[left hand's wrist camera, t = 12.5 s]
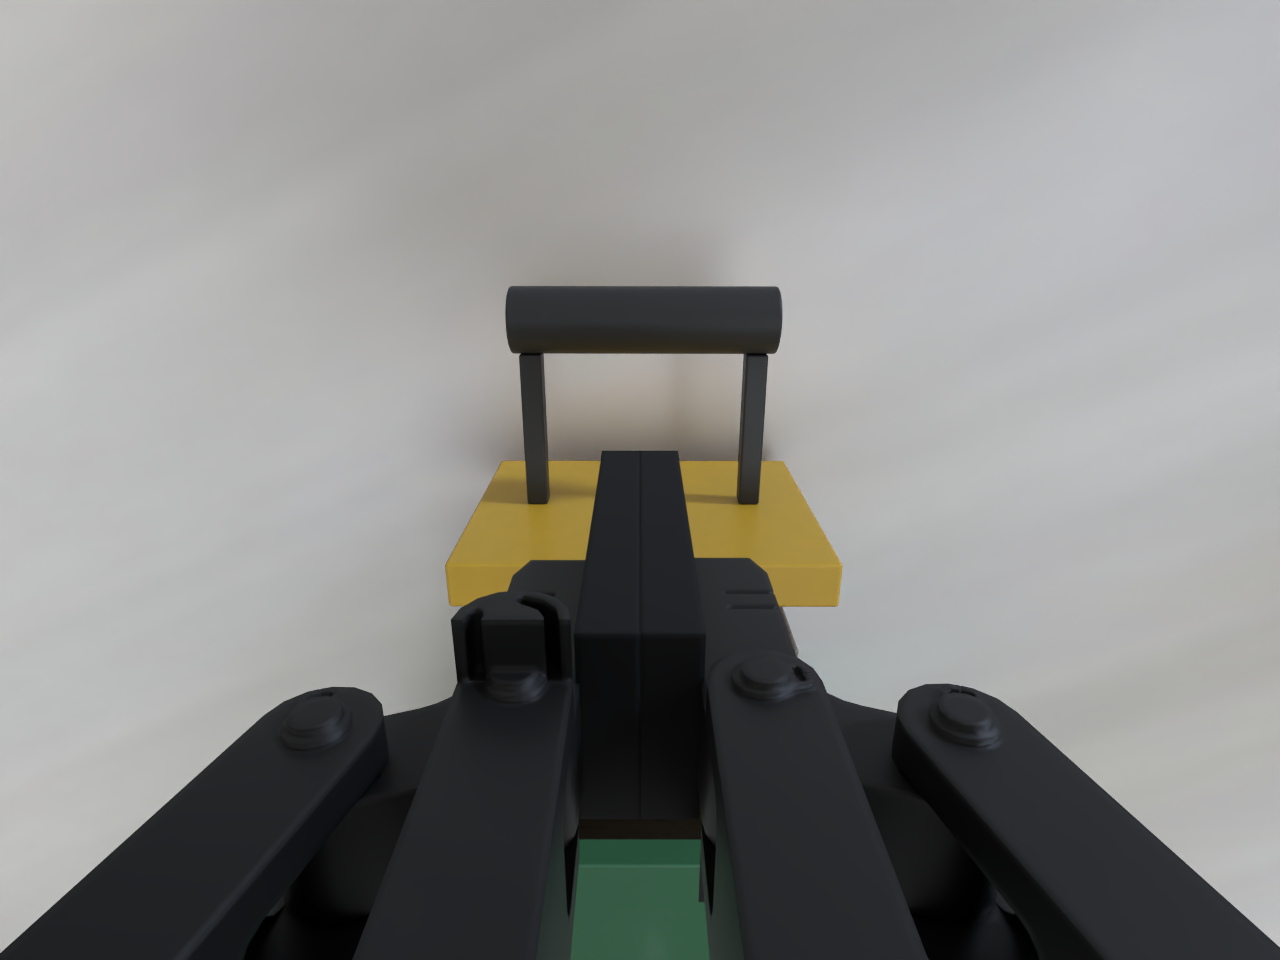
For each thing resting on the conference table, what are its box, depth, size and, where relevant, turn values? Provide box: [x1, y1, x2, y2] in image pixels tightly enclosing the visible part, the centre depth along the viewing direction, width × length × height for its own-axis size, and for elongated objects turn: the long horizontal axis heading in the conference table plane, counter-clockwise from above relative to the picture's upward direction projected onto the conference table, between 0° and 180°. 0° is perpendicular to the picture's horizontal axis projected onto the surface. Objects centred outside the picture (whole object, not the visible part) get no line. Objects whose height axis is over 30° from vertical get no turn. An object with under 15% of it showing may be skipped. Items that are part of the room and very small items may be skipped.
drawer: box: [445, 286, 842, 839], centre depth 23 cm, size 20×10×8 cm, turn 0°
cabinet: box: [570, 839, 710, 960], centre depth 27 cm, size 15×11×10 cm
